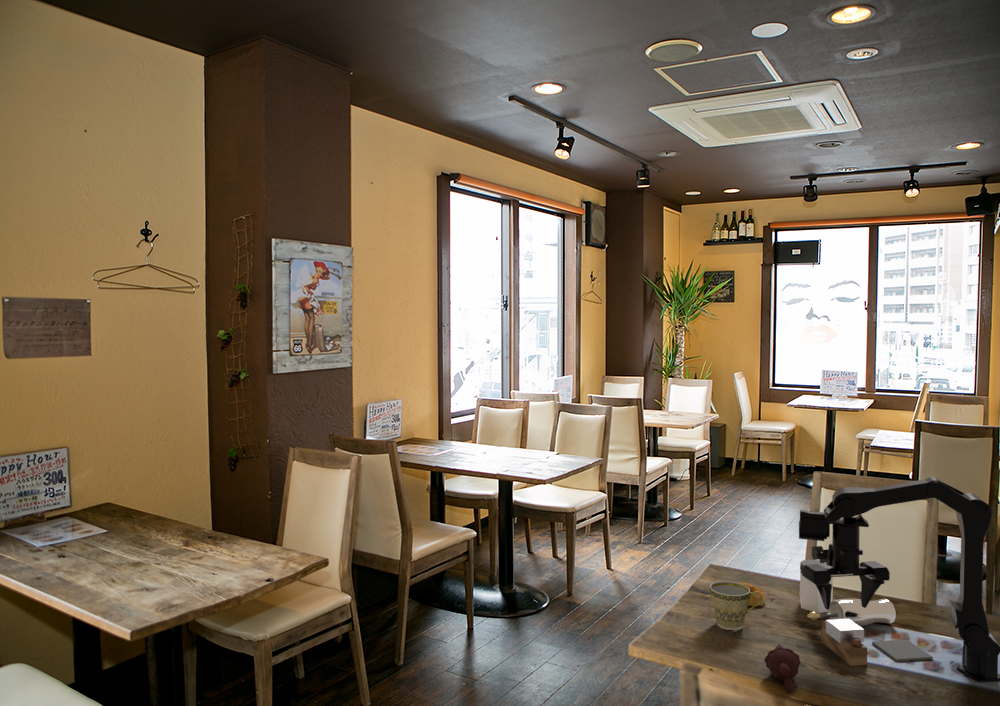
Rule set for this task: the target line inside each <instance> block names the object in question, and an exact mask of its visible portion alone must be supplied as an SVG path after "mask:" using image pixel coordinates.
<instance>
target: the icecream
mask: <svg viewBox="0 0 1000 706" xmlns="http://www.w3.org/2000/svg"><path fill="white" fill-rule="evenodd" d="M764 663H765V667H766V668H767V669H768V670H769V672H770V673H771V675H772V676H773V677H774V678H776V679H778V680H781V681H783V682H784V688H785V690H786V692H788V693H789V694H790V693H792V692H793V691H794V687H795V686H794V683H793V679H794V678H795V677H796V676H797V675H798V674H799V669H800V665H801V660H800V655H799V654H798V653H795V652H794V651H793V650H792V649H791V648H786V647H783V645H781V644H780V643H779V644H777V645H776V647H775V648H774V649H772V650H770V651H769V652H768V653H767V656H766V657H765V658H764Z"/></svg>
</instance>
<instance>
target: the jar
mask: <svg viewBox="0 0 1000 706" xmlns="http://www.w3.org/2000/svg"><path fill="white" fill-rule="evenodd" d="M799 564H800V566H799V571H800V574H799V578H800V579H799V580H800V581H799V604H800V609H802V610H805V611H808V610H809V612H811V611H812V612H816V613H817V614H827V613H828V610H827V609H825V607H824V604H823V601H822V599H821V596H820V593H819V591H818V589H817V587H816V585H815V584H814V583H812V582H811V581H809V580H808V579H806V578H805V577H804V576H802V569H803V567H804V566H805V565H810V564H819V565H821V566H823V567H824V568H826V569H830V568H832V566H828V565H827V562H825V563H820V560H819V559H818V560H814V559H805V560H801V561H800V563H799ZM829 583H830V584H831V585H832V591H831V601H832V600H834V598H833V593H834V592H833V587H834V577H831V581H830V582H829ZM831 601H830V602H831Z"/></svg>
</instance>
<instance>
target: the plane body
mask: <svg viewBox="0 0 1000 706" xmlns="http://www.w3.org/2000/svg"><path fill="white" fill-rule="evenodd" d="M826 620H832V619H830V618H828V619H827V618H823V619H821V643H822V644H823V645H825V646H826V647H827V648H828V649H829V650H831V651H832V652H833V653H835V654H836V656H838V657H839V658H841V660H843V661H845V662H846V663H847V664H848V665H849V666H852V667H853V666H867V665H868V647H867V646H866V645H865V644H863V642H861V639H859V638H851V643H839V642H838V641H837V640H835V639H834V638H833V637H831V636H830V635H829V634H828V633H826Z"/></svg>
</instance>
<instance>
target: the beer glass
mask: <svg viewBox="0 0 1000 706" xmlns="http://www.w3.org/2000/svg"><path fill="white" fill-rule="evenodd" d="M896 612H897V611H896V609H895V606H894V604H893V602H891V601H890V599H888V598H881V599H876V600H870V602H869V603H868V605H867V607H866V608H864V607H862V604H861V598H840V599H833V600H832V601H831V602H830V607H829V610H828V612H827V614H829V613H837V614H838V617H829V619H850V620H851V621H853V622H854V623H856V624H857V625H859V626H860V627H864V626H867V625H871V624H872V625H873V624H875V623H882V624H892V623H894V622H895V620H896V617H897V613H896Z"/></svg>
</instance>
